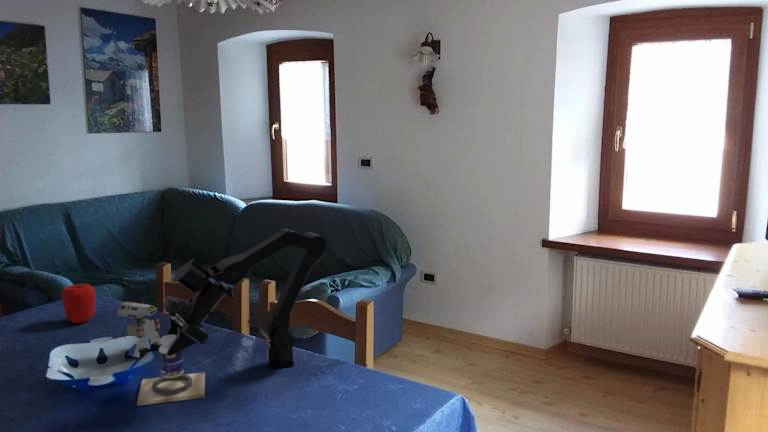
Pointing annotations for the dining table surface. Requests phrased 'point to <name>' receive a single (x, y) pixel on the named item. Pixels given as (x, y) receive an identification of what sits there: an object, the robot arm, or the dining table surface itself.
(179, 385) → the collar board
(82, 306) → the apple
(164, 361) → the pill bottle
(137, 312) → the figurine
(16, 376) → the dining table surface
